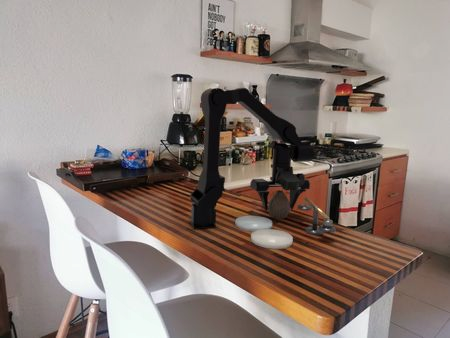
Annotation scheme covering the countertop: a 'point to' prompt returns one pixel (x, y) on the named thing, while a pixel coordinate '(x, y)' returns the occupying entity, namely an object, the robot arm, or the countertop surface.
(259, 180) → the robot arm
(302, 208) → the balance
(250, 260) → the countertop surface
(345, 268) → the countertop surface
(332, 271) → the countertop surface
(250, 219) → the white round plate
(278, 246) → the dish low
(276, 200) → the vase
